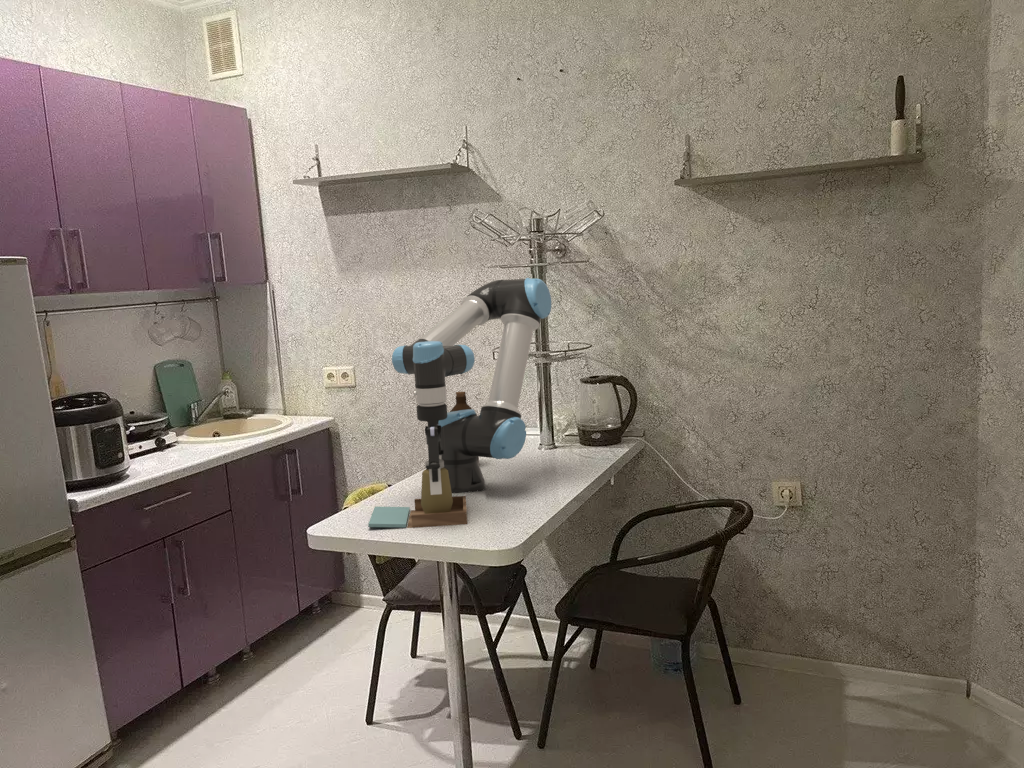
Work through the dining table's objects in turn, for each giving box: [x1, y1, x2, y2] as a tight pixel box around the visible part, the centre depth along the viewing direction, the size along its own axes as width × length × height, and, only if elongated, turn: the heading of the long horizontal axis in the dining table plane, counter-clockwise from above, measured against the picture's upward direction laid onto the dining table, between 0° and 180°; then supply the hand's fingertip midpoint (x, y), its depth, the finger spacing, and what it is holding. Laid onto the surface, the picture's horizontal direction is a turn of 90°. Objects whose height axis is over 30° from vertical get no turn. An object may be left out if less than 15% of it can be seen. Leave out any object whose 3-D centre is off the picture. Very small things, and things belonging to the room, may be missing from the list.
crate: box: [406, 495, 468, 529], centre depth 193 cm, size 15×15×4 cm
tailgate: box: [367, 506, 411, 528], centre depth 192 cm, size 15×1×9 cm
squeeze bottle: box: [420, 459, 453, 514], centre depth 192 cm, size 8×8×18 cm
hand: (437, 487), depth 193 cm, fingers open, 13 cm apart
